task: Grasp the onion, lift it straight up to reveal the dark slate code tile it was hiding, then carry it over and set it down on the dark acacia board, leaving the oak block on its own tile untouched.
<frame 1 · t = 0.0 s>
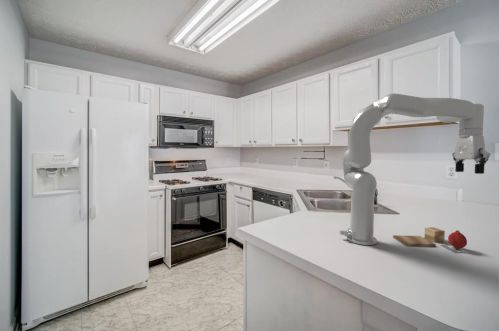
hand: (468, 172, 100), 31 cm above the worktop, fingers open, 9 cm apart
code tile: (457, 249, 94), on the worktop
code tile 2: (434, 240, 104), on the worktop
onion: (457, 249, 94), resting on code tile
oak block: (434, 240, 104), resting on code tile 2
board: (413, 242, 102), on the worktop
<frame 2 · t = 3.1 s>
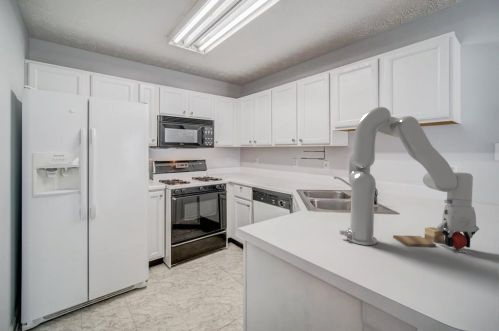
hand: (457, 245, 94), 2 cm above the worktop, fingers closed on onion, 5 cm apart
onion: (457, 249, 94), resting on code tile, touching gripper
everything else where it was.
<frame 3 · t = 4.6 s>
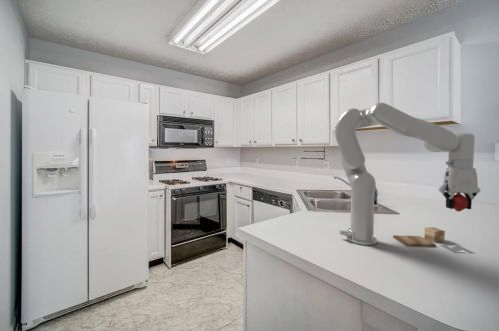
hand: (458, 207, 93), 17 cm above the worktop, fingers closed on onion, 5 cm apart
onion: (458, 212, 93), point 16 cm above the worktop, touching gripper
everything else where it was.
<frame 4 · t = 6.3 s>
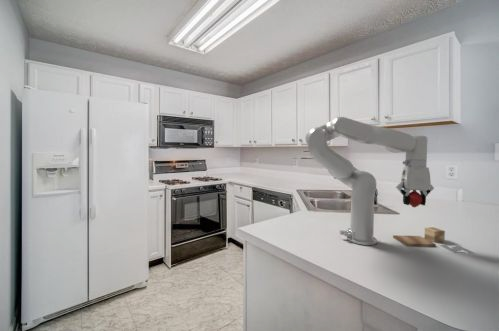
hand: (414, 204, 101), 17 cm above the worktop, fingers closed on onion, 5 cm apart
onion: (414, 207, 101), point 16 cm above the worktop, touching gripper
everything else where it was.
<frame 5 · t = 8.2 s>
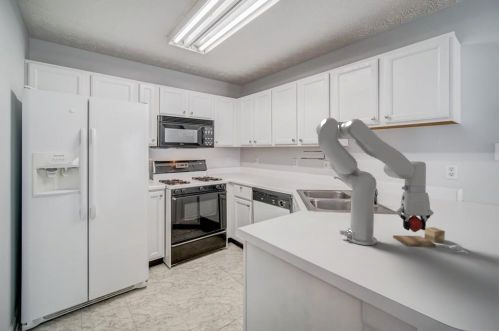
hand: (414, 228, 102), 6 cm above the worktop, fingers closed on onion, 5 cm apart
onion: (414, 232, 102), point 4 cm above the worktop, touching gripper
everything else where it was.
when the fingers open (4 cm above the worktop, at t = 9.6 s): onion drops 1 cm, resting on board.
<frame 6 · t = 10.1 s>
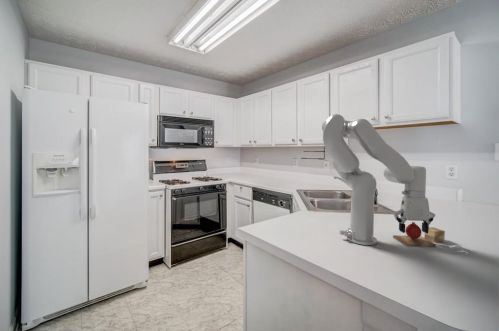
hand: (413, 232, 102), 5 cm above the worktop, fingers open, 9 cm apart
onion: (413, 240, 102), point 1 cm above the worktop, touching board
everything else where it was.
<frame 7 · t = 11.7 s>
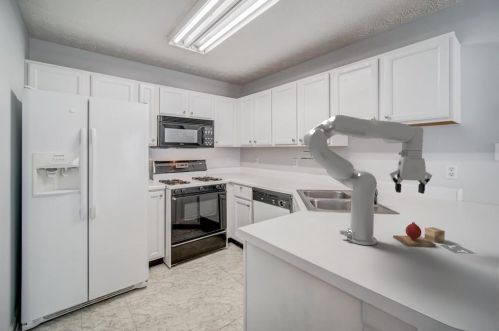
hand: (409, 192, 103), 22 cm above the worktop, fingers open, 9 cm apart
nothing on the worktop moved.
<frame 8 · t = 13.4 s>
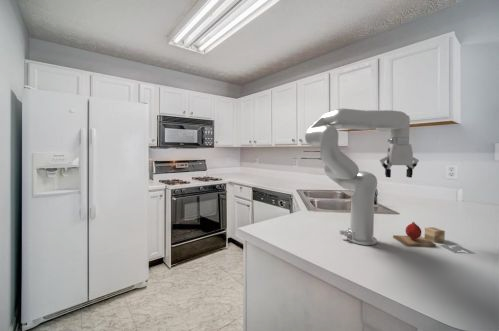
hand: (398, 177, 110), 28 cm above the worktop, fingers open, 9 cm apart
nothing on the worktop moved.
at the end: onion 0.1 cm from the board (horizontally); the gripper is holding nothing; onion point 1.0 cm above the worktop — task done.
